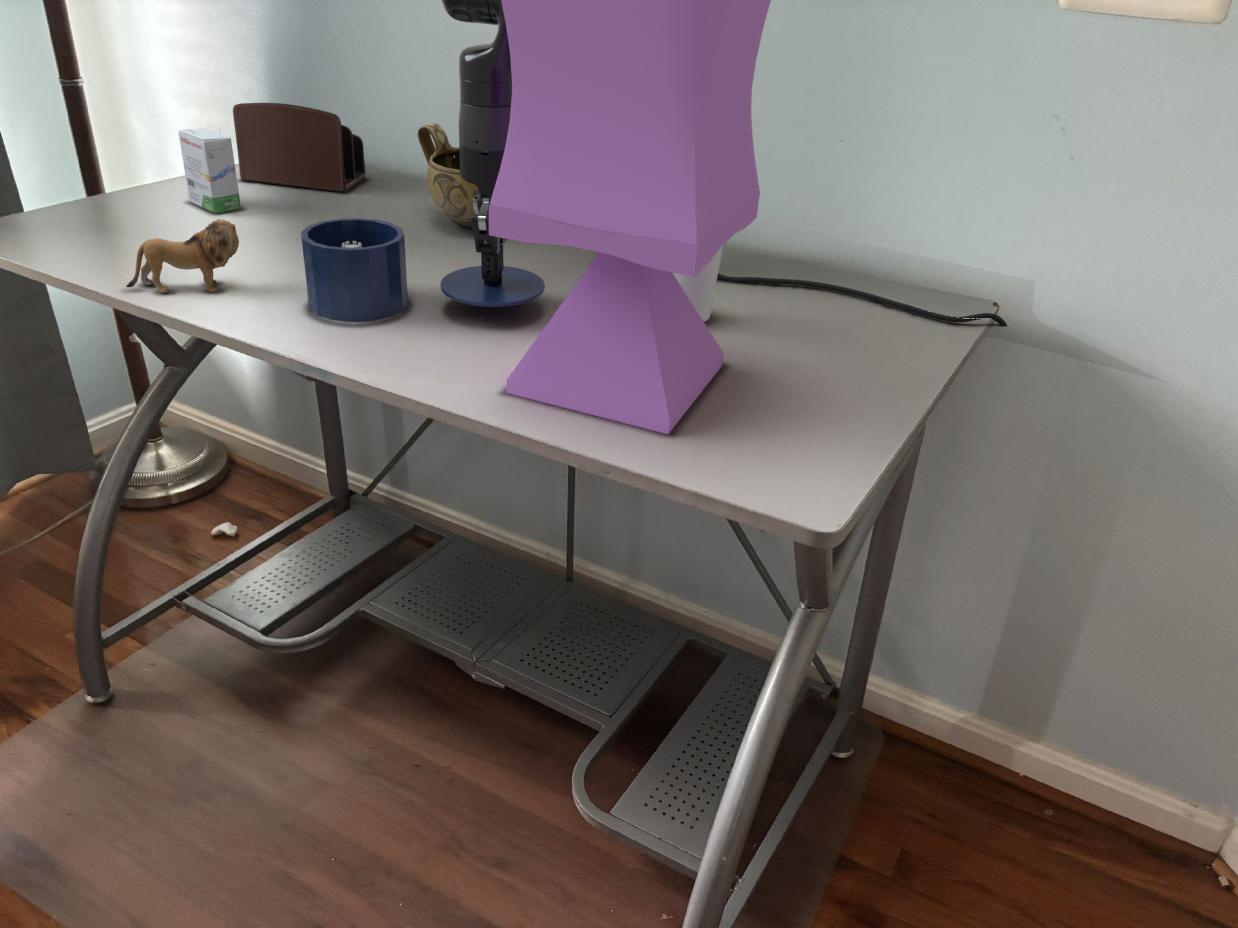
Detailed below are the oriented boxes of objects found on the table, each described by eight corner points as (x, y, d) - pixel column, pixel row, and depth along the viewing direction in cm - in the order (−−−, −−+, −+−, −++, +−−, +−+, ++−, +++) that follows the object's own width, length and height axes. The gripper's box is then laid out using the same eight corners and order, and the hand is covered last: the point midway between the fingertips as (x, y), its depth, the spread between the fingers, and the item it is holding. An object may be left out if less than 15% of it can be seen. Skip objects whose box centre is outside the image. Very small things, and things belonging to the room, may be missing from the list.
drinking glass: (681, 330, 128) (693, 219, 120) (656, 311, 133) (666, 204, 125) (724, 323, 131) (738, 215, 123) (698, 305, 136) (710, 200, 128)
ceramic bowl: (563, 223, 163) (566, 133, 156) (512, 251, 150) (513, 153, 142) (452, 200, 171) (449, 112, 163) (394, 224, 157) (388, 130, 150)
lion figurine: (244, 277, 134) (235, 213, 129) (246, 291, 129) (236, 225, 125) (128, 284, 129) (114, 218, 124) (125, 299, 125) (111, 231, 120)
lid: (550, 277, 132) (551, 235, 129) (536, 315, 121) (537, 270, 118) (453, 269, 133) (451, 227, 130) (429, 306, 121) (427, 262, 118)
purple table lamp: (573, 326, 126) (589, -62, 103) (736, 363, 120) (793, -43, 96) (489, 395, 108) (486, -57, 85) (675, 443, 102) (727, -33, 78)
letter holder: (345, 193, 170) (338, 110, 163) (239, 181, 172) (228, 99, 165) (366, 179, 179) (361, 100, 171) (266, 168, 181) (256, 89, 174)
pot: (418, 294, 133) (415, 223, 127) (391, 329, 122) (387, 253, 117) (328, 285, 133) (321, 214, 128) (294, 320, 122) (285, 244, 117)
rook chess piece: (363, 311, 125) (358, 252, 121) (332, 306, 126) (326, 247, 122) (379, 299, 129) (375, 241, 124) (349, 294, 130) (344, 236, 125)
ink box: (242, 209, 159) (232, 136, 153) (214, 215, 156) (203, 140, 150) (216, 197, 164) (205, 126, 158) (188, 202, 160) (176, 129, 154)
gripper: (471, 125, 123) (474, 256, 132) (447, 152, 111) (452, 293, 120) (529, 129, 122) (529, 260, 131) (511, 156, 110) (512, 298, 120)
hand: (492, 275), depth 126 cm, fingers closed on lid, 2 cm apart
